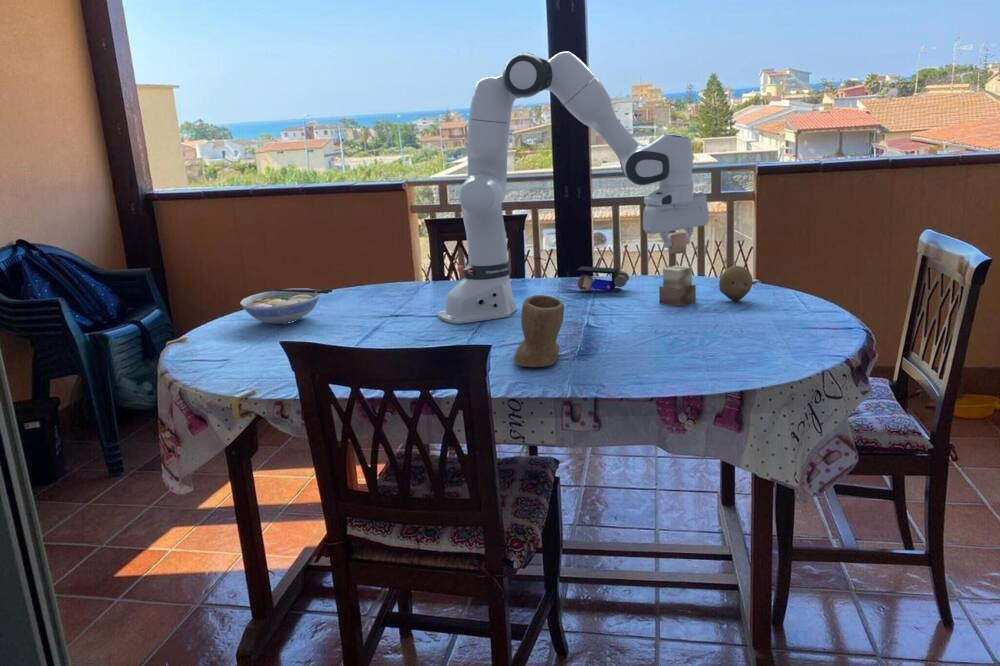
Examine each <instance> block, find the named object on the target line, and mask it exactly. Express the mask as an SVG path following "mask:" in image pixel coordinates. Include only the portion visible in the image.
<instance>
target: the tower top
mask: <svg viewBox="0 0 1000 666" xmlns="http://www.w3.org/2000/svg"><path fill="white" fill-rule="evenodd" d="M692 270H693V269H692V267H691V266H684V265H678V264H677V265H676V264H675V265H672V266H668V267H664V268H662V283H663V284H662V285H663V286H665V287H671V288H676V289H680V288H683V287H687V286H691V285H692V284H693V281H692V280H693V276H692V275H693V274H692V273H693V271H692Z"/></svg>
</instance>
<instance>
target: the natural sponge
mask: <svg viewBox="0 0 1000 666" xmlns="http://www.w3.org/2000/svg"><path fill="white" fill-rule="evenodd" d="M753 281H754V279H753V276H752V274H751V273H750V271H749V270H748V269H747V268H746V267H743V266H742V265H732V266H729V267H728V268H726V269H725V270H724V272H723V273H721V276H720V278H719V282H718V286H719V287H718V288H719V291H720V292H721V294H722V295H724V296H725V297H726V298H727V299H729V300H731V301H733V302H738V301H741V300H742V299H744V298H745V296H746V295H747V294H748V293H749V292H750V291H751V288H752V286H753Z"/></svg>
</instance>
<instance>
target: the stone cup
mask: <svg viewBox="0 0 1000 666" xmlns="http://www.w3.org/2000/svg"><path fill="white" fill-rule="evenodd" d="M564 313H565V305H564V303H563V302H562V301H561V300H560V299H559V298H556V296H555V297H554V296H550V295H544V294H535V295H531V296H528V297H527V298H526V299H524V301H523V303H522V306H521V313H520V315H521V317H520V318H521V320H520V321H521V322H520V325H521V329H522V333H523V337H524V340H522V341H521V342H520V344H519V345H518V347H517V350H516V351H515V353H514V356H513V359H512V361H513V363H514V364H515V365H516V366H519V367H527V368H540V367H541V368H542V367H543V368H544V367H549V366H551V365H553V364H554V363H555V362H556V361H557V359H558V357H559V352H560V348H561V346H560V344H558V343H557V338H558V336H559V333H560V330H561V328H562V324H563V321H564Z"/></svg>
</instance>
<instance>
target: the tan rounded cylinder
mask: <svg viewBox="0 0 1000 666" xmlns="http://www.w3.org/2000/svg"><path fill="white" fill-rule="evenodd" d="M667 236H668V238H669V240H670V241H672V247H670V248H667V252H668V254H674V255H675V254H685V253H687V244H686V232H681V231H680V232H669V235H667Z"/></svg>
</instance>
